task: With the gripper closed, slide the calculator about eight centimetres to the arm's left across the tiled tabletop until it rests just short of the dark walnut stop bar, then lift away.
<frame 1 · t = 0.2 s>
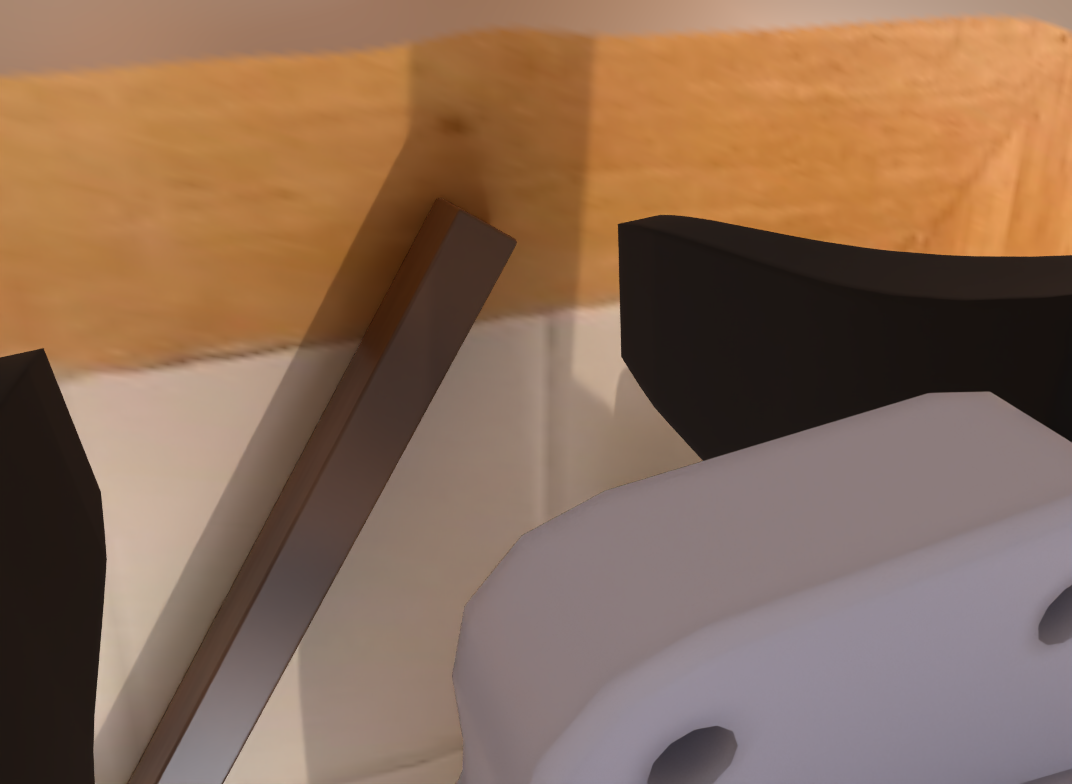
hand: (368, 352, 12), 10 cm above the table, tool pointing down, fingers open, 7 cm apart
stop bar: (279, 560, 24), on the table
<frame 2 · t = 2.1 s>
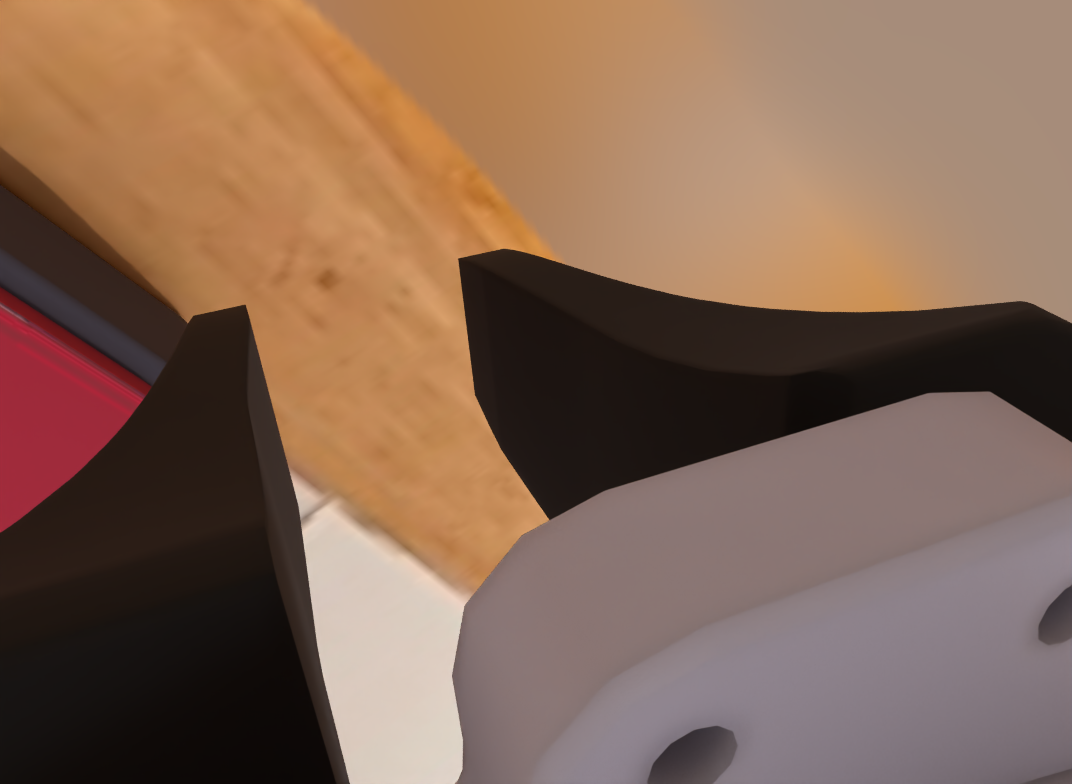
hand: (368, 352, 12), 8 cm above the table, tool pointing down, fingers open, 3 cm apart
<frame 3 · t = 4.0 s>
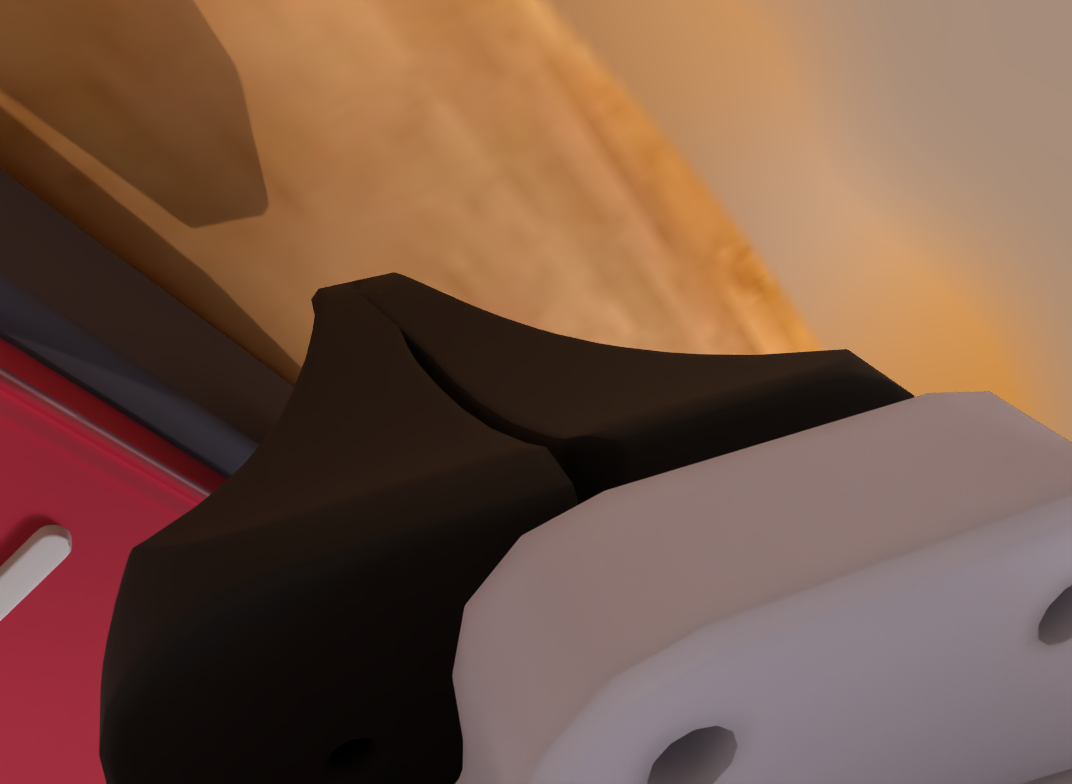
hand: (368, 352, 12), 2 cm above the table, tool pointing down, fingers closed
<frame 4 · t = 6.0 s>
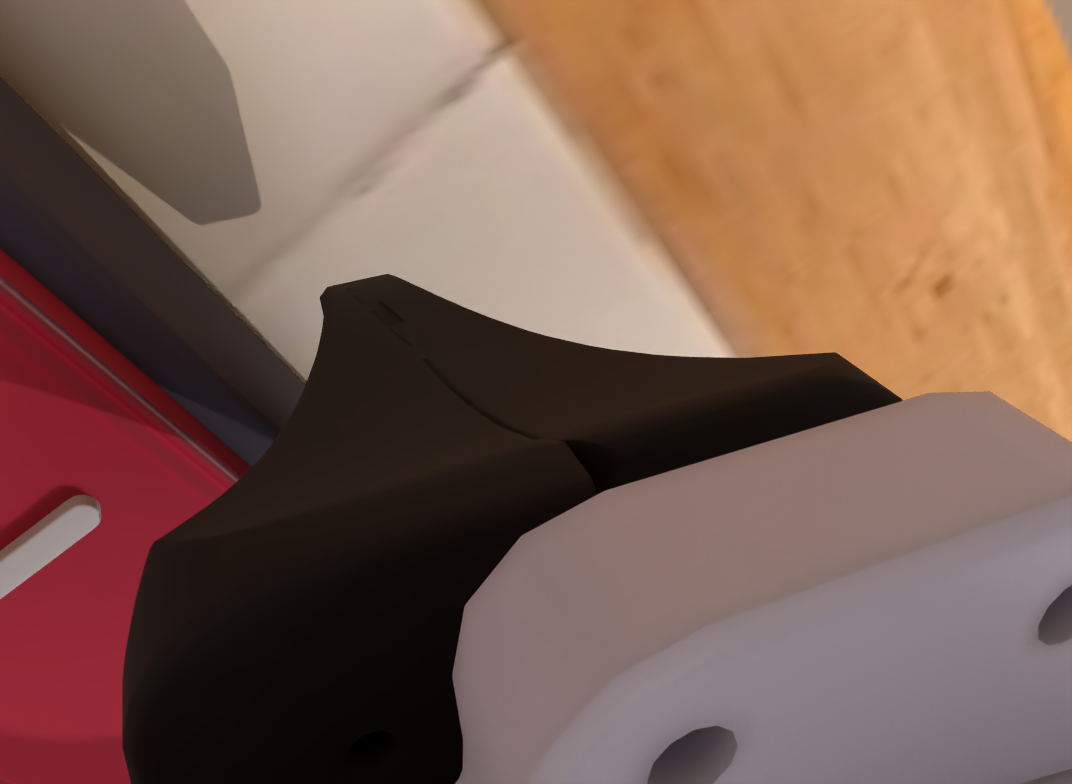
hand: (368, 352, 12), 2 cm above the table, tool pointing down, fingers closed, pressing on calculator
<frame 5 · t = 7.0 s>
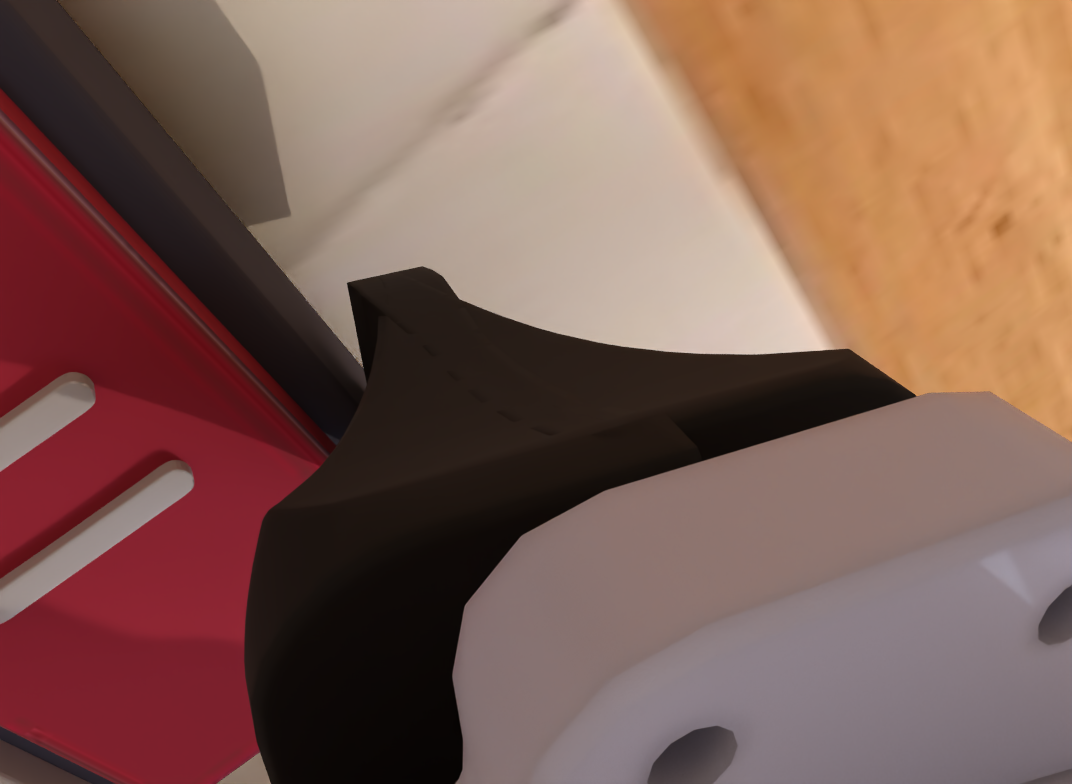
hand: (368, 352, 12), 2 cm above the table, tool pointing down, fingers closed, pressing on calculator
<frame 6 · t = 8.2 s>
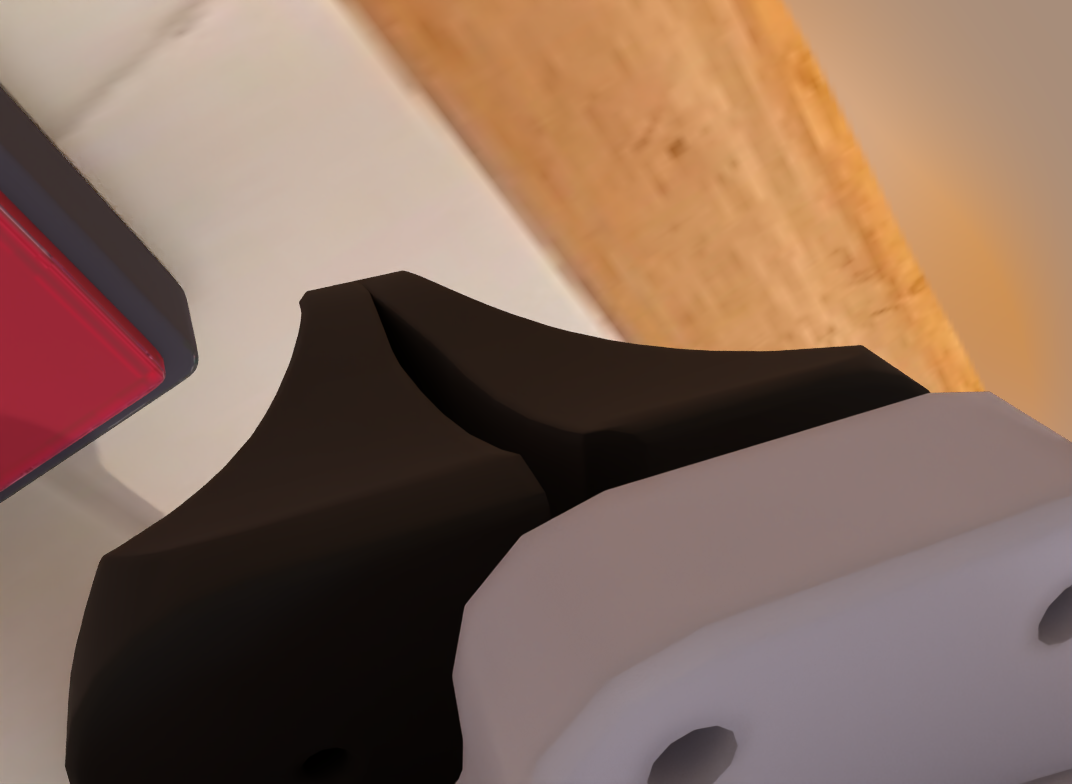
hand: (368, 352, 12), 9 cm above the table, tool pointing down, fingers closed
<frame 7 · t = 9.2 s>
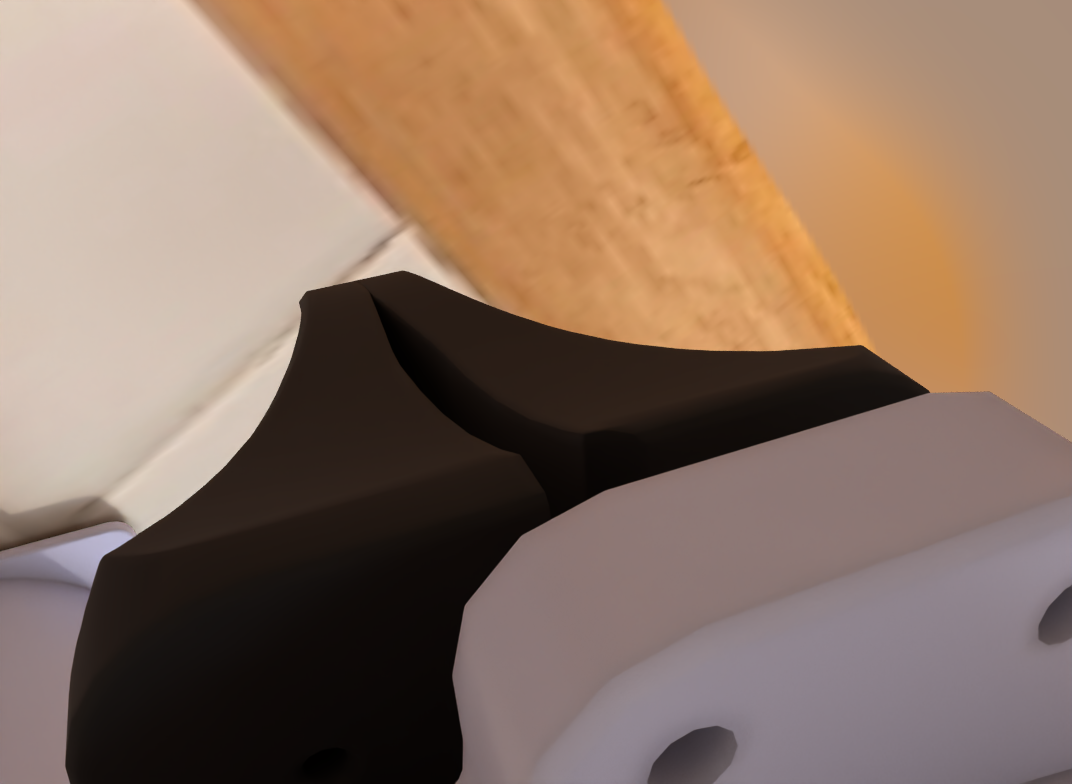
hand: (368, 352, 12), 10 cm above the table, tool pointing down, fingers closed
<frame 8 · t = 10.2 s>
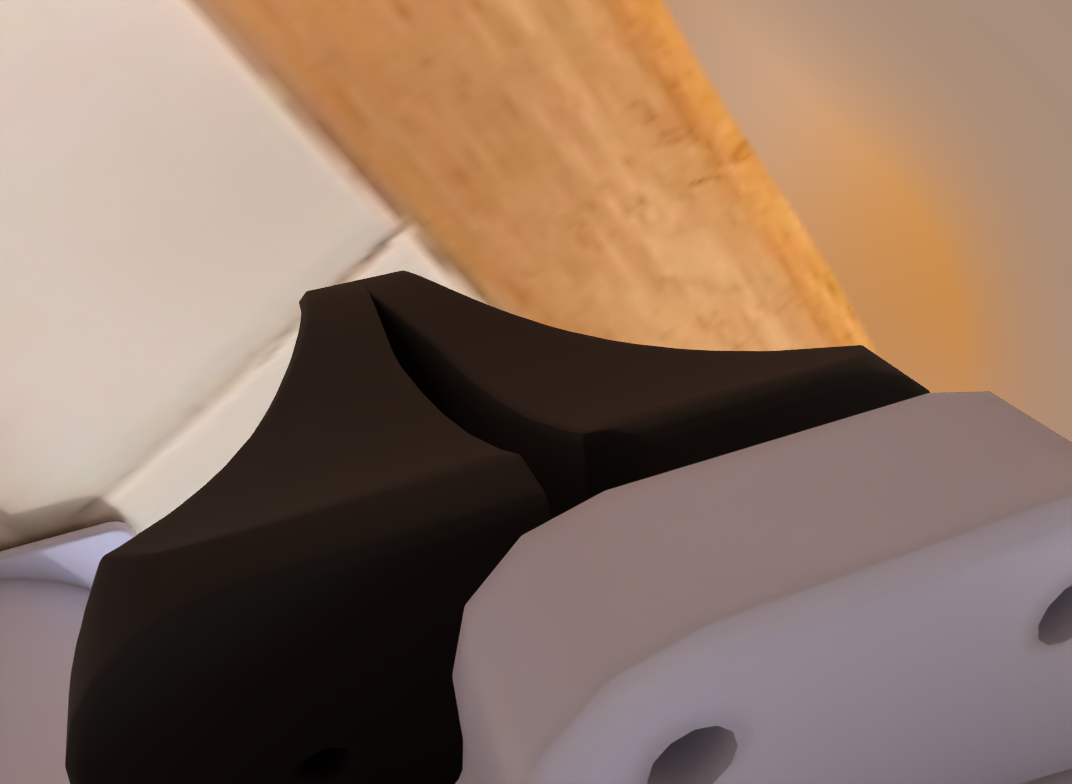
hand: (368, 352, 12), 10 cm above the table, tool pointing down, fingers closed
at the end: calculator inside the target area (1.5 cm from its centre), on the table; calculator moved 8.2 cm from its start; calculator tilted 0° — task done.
